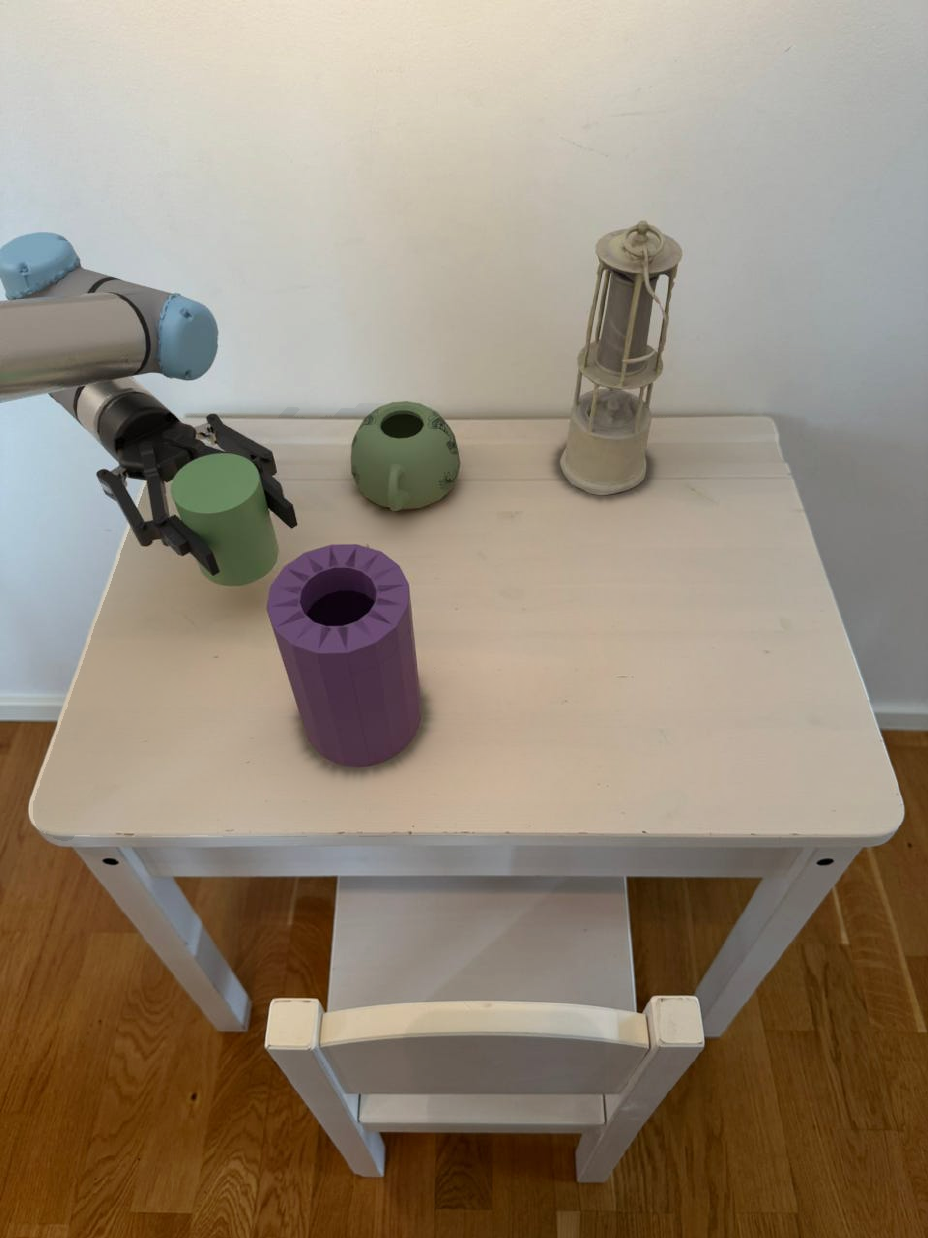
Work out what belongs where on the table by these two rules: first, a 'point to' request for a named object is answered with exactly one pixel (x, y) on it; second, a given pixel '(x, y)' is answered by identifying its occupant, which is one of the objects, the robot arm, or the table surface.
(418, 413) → the green round pot
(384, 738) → the jar
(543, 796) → the table surface
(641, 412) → the lamp
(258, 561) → the green cylinder
